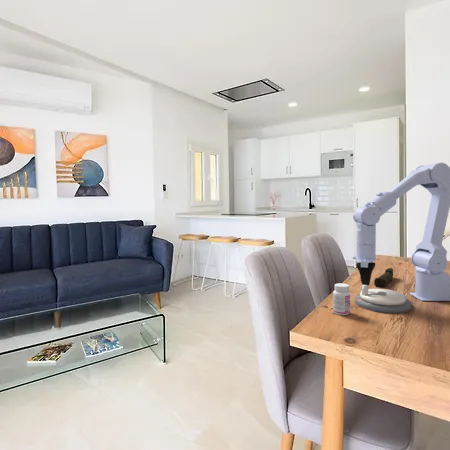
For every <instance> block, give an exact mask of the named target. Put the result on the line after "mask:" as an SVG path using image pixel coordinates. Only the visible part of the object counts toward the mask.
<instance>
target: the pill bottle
mask: <svg viewBox="0 0 450 450" xmlns="http://www.w3.org/2000/svg"><path fill="white" fill-rule="evenodd" d="M332 294H333V295H332V301H333V302H332V303H333V304H332V313H334V314H336V315H340V316H348V315H349V314H351V292H350V285H349V284H347V283H342V282H341V283H340V282H338V283H335V284H334V290H333V293H332Z"/></svg>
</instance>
